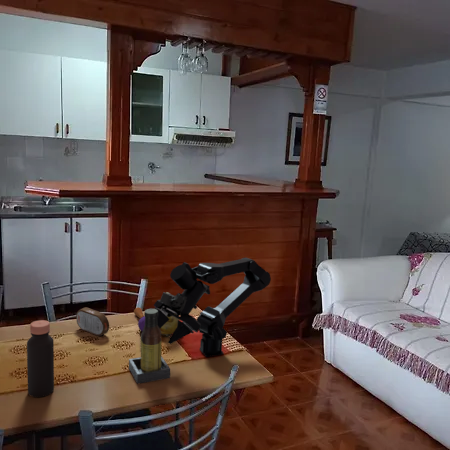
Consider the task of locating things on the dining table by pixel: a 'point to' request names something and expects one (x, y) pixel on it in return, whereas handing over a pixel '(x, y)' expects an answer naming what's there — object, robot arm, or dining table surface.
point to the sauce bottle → (151, 342)
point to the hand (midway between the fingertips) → (160, 338)
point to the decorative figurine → (169, 326)
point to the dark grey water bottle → (40, 360)
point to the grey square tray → (148, 375)
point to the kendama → (141, 322)
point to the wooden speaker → (92, 321)
